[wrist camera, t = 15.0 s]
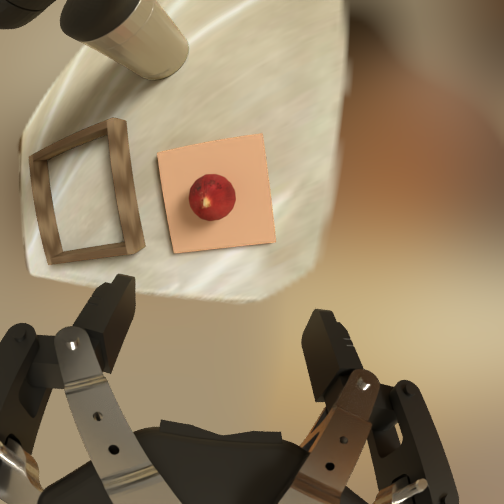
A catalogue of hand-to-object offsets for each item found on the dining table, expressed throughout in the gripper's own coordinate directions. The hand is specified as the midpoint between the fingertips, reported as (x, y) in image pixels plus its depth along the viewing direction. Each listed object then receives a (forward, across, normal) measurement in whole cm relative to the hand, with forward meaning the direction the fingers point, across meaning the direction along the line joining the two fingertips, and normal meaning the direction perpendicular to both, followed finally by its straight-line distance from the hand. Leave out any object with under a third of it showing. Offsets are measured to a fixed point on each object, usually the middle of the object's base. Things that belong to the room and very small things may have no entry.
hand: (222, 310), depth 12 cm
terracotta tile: (+29, +2, +3) cm, 29 cm away
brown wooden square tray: (+32, +24, +8) cm, 41 cm away
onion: (+27, +2, +3) cm, 28 cm away
